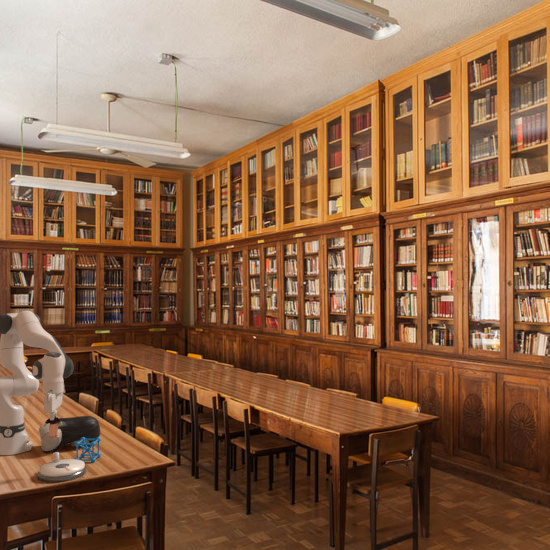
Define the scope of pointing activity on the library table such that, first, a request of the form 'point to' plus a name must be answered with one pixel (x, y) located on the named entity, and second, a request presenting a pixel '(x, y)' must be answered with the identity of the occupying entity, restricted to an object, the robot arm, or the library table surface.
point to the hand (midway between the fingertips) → (53, 418)
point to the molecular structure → (87, 449)
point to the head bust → (70, 432)
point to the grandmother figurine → (53, 426)
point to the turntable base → (61, 477)
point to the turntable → (61, 467)
